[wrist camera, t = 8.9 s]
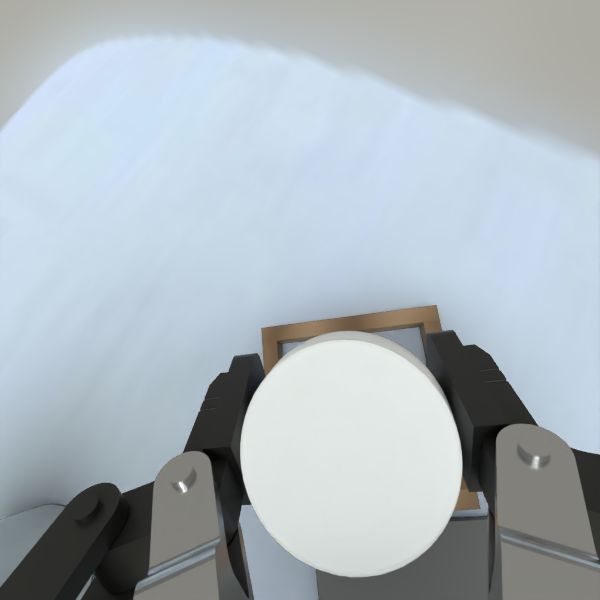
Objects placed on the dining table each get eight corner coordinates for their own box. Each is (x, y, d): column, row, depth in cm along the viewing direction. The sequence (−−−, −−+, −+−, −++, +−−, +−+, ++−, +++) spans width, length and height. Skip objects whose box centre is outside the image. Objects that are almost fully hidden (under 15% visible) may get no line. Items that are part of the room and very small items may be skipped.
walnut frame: (279, 511, 27) (273, 519, 25) (267, 332, 31) (261, 328, 29) (472, 501, 25) (480, 509, 23) (432, 310, 29) (436, 305, 27)
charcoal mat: (325, 659, 24) (324, 665, 23) (313, 525, 26) (312, 528, 25) (531, 660, 22) (535, 667, 21) (498, 516, 24) (501, 519, 24)
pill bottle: (267, 413, 15) (151, 430, 7) (353, 331, 16) (345, 250, 7) (352, 519, 14) (340, 714, 5) (447, 425, 14) (580, 464, 6)
